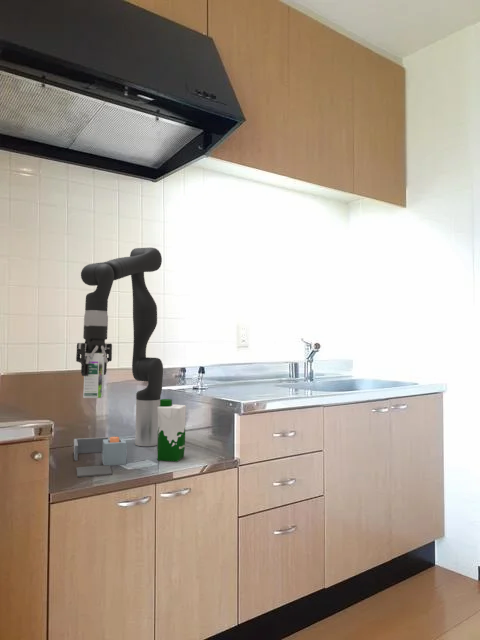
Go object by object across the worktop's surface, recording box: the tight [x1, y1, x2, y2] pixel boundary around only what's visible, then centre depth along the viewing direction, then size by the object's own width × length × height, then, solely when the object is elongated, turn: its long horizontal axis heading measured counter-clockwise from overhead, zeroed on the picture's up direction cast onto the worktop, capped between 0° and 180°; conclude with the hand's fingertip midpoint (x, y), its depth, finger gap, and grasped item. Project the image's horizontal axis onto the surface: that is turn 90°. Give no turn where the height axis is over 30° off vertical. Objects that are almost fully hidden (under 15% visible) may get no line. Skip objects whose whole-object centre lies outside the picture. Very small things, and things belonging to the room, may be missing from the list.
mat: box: [76, 464, 113, 478], centre depth 160 cm, size 10×10×1 cm
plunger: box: [109, 436, 120, 443], centre depth 172 cm, size 3×3×6 cm
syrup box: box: [82, 353, 105, 399], centre depth 169 cm, size 6×6×14 cm
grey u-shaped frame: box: [73, 436, 111, 462], centre depth 181 cm, size 12×12×5 cm
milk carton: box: [156, 398, 187, 463], centre depth 178 cm, size 9×9×20 cm
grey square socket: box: [101, 438, 128, 466], centre depth 172 cm, size 7×7×7 cm
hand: (93, 375), depth 169 cm, fingers closed on syrup box, 7 cm apart
